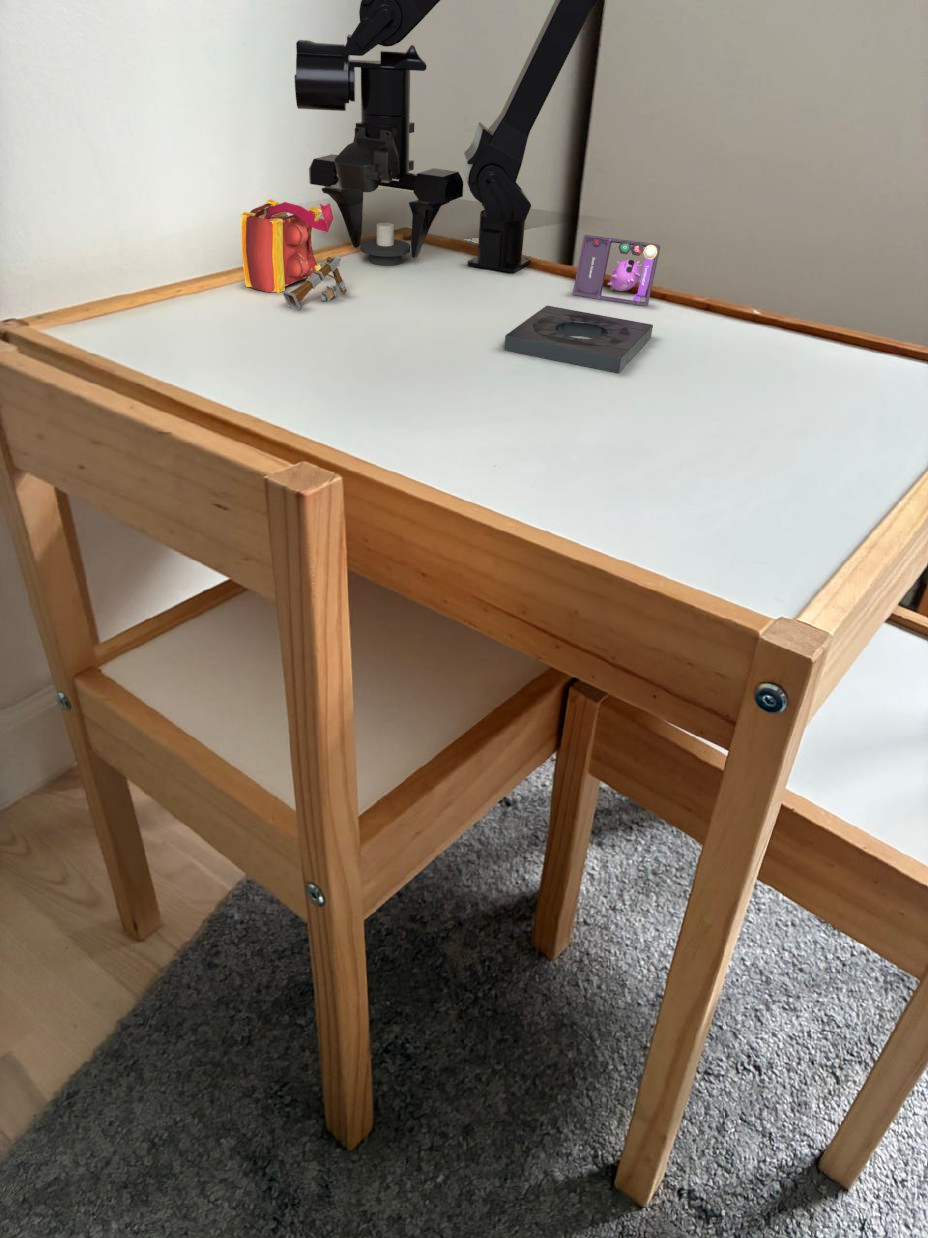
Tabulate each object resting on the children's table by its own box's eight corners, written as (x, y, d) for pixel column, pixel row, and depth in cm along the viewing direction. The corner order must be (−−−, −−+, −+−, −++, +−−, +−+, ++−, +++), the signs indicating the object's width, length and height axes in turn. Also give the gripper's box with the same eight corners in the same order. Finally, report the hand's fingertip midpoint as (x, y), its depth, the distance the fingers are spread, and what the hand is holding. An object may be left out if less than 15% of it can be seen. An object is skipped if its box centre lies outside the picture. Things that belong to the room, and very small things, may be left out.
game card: (582, 233, 104) (659, 243, 102) (590, 240, 109) (664, 250, 107) (571, 293, 106) (646, 305, 104) (579, 298, 111) (651, 309, 109)
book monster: (277, 266, 110) (359, 290, 106) (228, 284, 103) (313, 310, 99) (273, 172, 103) (360, 193, 99) (221, 185, 97) (311, 208, 93)
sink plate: (545, 318, 99) (546, 304, 98) (650, 338, 95) (653, 324, 94) (504, 350, 90) (505, 335, 89) (618, 373, 86) (621, 357, 85)
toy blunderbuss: (356, 287, 102) (342, 251, 98) (307, 329, 99) (291, 294, 95) (345, 283, 103) (331, 248, 99) (296, 325, 100) (281, 290, 96)
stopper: (375, 251, 119) (375, 216, 116) (418, 259, 117) (419, 223, 114) (351, 262, 114) (350, 225, 111) (395, 270, 112) (395, 232, 109)
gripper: (279, 110, 102) (288, 254, 112) (425, 128, 97) (422, 278, 106) (330, 102, 111) (334, 236, 120) (468, 119, 105) (461, 258, 114)
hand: (385, 252), depth 115 cm, fingers open, 8 cm apart
